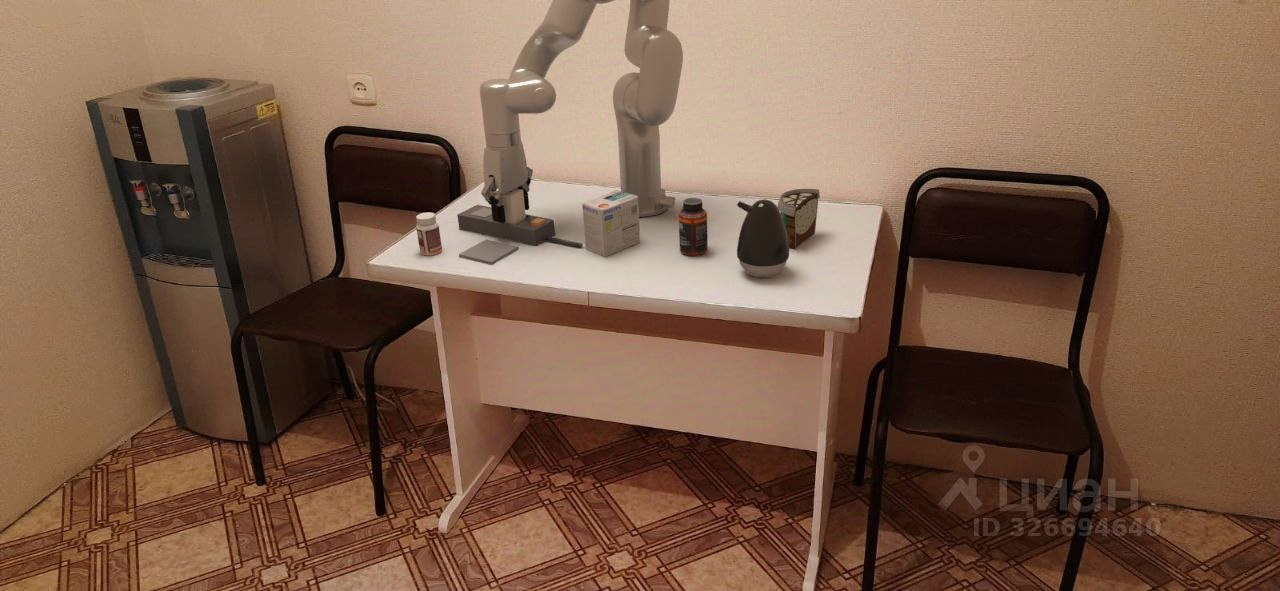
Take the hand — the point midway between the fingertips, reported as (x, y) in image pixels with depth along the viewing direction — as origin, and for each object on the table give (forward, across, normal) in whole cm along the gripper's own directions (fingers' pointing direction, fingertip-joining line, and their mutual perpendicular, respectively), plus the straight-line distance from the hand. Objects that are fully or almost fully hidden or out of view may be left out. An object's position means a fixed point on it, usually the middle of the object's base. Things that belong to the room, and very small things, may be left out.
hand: (511, 214), depth 201 cm
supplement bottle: (+5, -9, +41) cm, 42 cm away
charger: (+3, 0, 0) cm, 3 cm away
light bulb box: (+5, -4, +24) cm, 25 cm away
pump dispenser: (+5, -6, +58) cm, 58 cm away
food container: (+5, -24, +57) cm, 62 cm away
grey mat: (+5, +11, +2) cm, 12 cm away
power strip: (+5, 0, +3) cm, 5 cm away
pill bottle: (+5, +16, -10) cm, 19 cm away
